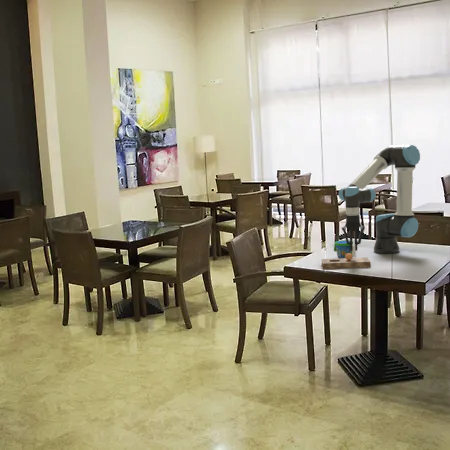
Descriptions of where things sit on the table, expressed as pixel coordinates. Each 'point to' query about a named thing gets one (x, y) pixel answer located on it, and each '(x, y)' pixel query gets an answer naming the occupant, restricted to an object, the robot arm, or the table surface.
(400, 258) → the table surface
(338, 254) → the snack cup
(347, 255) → the ball
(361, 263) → the light wood flat slab
